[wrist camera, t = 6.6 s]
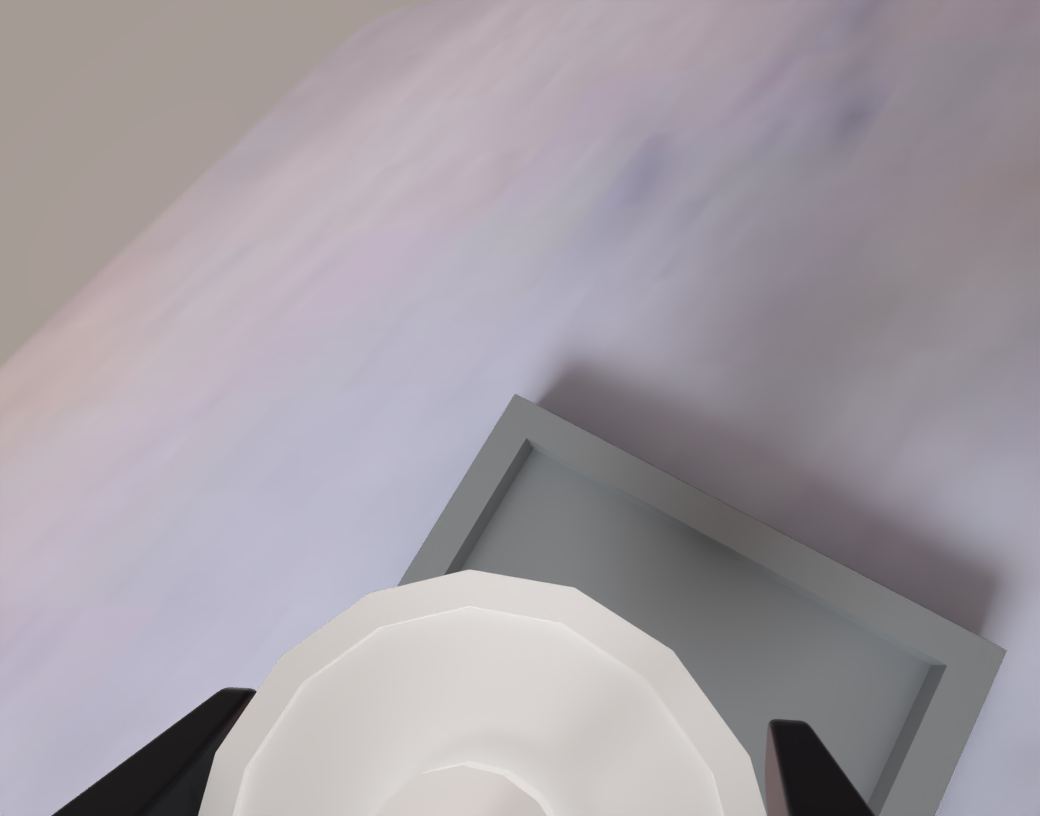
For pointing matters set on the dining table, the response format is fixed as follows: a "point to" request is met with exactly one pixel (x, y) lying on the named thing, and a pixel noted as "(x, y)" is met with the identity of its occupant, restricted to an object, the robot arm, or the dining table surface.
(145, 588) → the dining table surface
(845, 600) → the tray
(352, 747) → the beverage cup
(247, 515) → the dining table surface
